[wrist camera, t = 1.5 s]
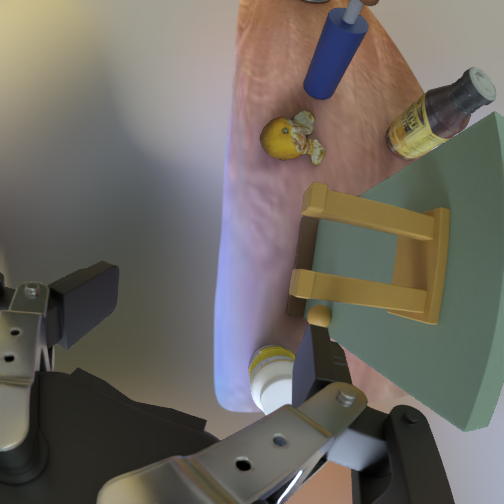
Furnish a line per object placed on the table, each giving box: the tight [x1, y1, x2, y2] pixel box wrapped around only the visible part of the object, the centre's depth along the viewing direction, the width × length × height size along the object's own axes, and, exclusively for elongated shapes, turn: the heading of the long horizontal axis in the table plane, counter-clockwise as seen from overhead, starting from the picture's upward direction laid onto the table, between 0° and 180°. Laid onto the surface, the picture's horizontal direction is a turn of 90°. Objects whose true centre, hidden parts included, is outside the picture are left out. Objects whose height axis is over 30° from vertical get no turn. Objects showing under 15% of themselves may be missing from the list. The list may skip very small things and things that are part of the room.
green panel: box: [286, 112, 504, 432], centre depth 22 cm, size 11×12×30 cm
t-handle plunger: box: [304, 0, 379, 99], centre depth 28 cm, size 8×5×22 cm, turn 170°
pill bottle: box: [249, 345, 295, 415], centre depth 31 cm, size 6×6×11 cm
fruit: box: [260, 111, 325, 165], centre depth 36 cm, size 8×8×4 cm
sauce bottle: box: [387, 67, 496, 160], centre depth 29 cm, size 7×6×20 cm
